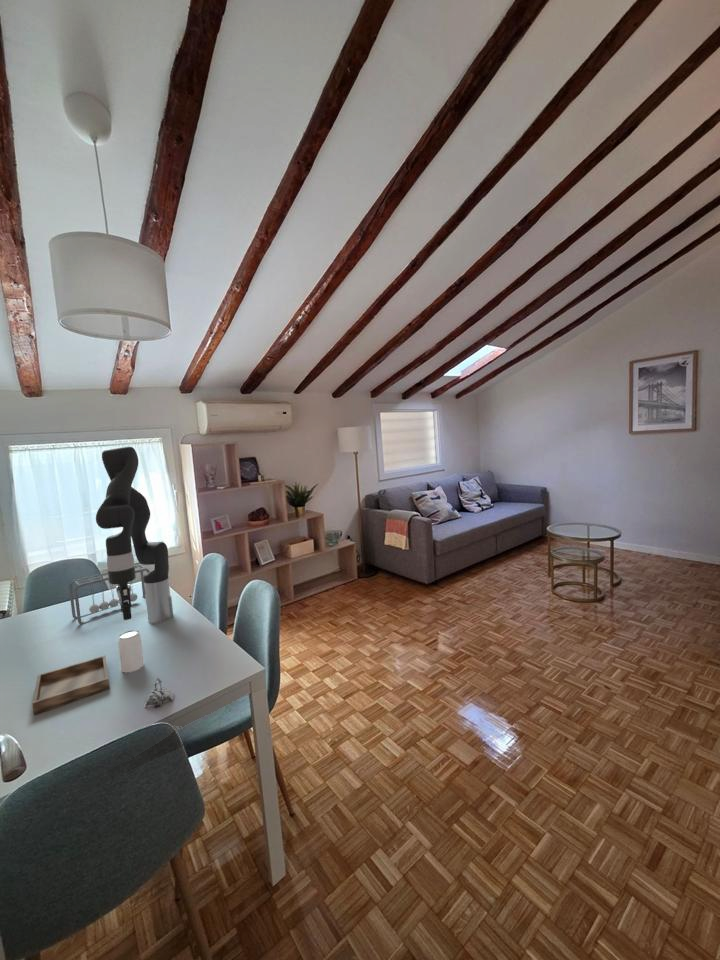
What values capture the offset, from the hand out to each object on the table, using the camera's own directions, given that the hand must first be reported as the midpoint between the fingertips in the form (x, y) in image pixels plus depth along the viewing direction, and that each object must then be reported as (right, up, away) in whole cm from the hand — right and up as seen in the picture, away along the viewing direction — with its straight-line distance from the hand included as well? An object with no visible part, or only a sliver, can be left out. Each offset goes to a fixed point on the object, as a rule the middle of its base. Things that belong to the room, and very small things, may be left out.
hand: (126, 615), depth 131 cm
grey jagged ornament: (+20, -20, -20) cm, 34 cm away
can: (+1, -19, +2) cm, 19 cm away
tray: (-12, -20, -8) cm, 24 cm away
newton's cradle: (-36, -16, +52) cm, 66 cm away
